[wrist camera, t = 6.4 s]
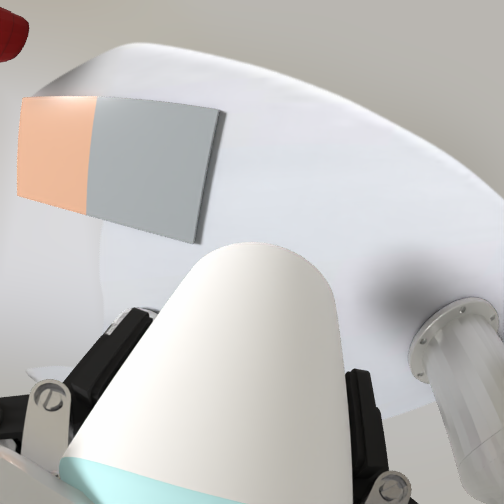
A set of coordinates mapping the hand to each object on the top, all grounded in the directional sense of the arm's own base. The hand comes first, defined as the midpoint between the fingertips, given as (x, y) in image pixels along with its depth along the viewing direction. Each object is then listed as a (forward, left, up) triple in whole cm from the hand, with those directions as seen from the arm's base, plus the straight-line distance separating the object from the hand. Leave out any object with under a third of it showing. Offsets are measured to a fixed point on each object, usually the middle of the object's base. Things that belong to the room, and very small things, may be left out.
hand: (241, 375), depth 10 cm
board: (+19, -2, -17) cm, 26 cm away
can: (0, 0, -5) cm, 5 cm away
